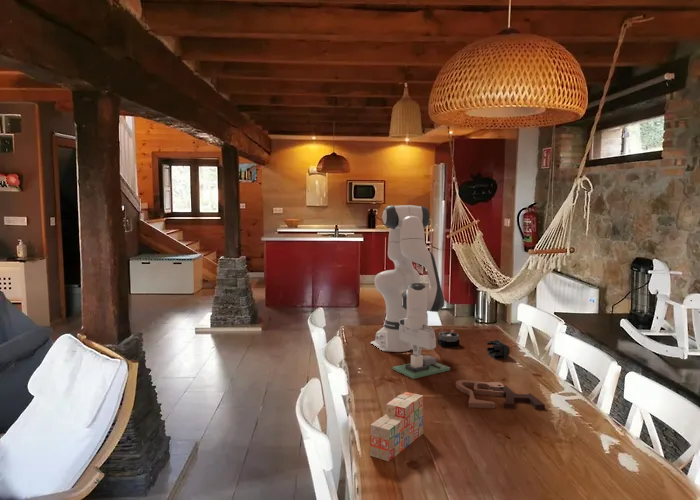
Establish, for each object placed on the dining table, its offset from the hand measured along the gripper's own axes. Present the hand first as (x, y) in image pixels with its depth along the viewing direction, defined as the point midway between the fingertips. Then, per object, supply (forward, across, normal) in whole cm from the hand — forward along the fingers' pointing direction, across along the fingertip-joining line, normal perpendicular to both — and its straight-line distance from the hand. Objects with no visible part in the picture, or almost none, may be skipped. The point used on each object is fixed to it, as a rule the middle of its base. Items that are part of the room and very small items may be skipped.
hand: (417, 355), depth 216 cm
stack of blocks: (+8, -48, +47) cm, 67 cm away
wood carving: (+8, -37, -7) cm, 39 cm away
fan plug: (+6, 0, 0) cm, 6 cm away
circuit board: (+7, +1, -3) cm, 8 cm away
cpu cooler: (+8, +24, -41) cm, 48 cm away
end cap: (+8, -3, -46) cm, 47 cm away
